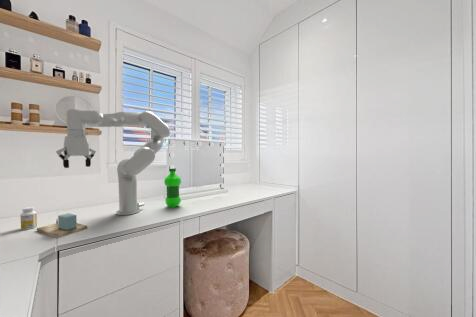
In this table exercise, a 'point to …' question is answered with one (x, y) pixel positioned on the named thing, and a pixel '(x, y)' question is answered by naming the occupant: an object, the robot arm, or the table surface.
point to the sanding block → (67, 222)
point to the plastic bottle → (172, 188)
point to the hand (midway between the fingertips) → (77, 167)
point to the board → (59, 230)
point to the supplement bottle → (28, 218)
